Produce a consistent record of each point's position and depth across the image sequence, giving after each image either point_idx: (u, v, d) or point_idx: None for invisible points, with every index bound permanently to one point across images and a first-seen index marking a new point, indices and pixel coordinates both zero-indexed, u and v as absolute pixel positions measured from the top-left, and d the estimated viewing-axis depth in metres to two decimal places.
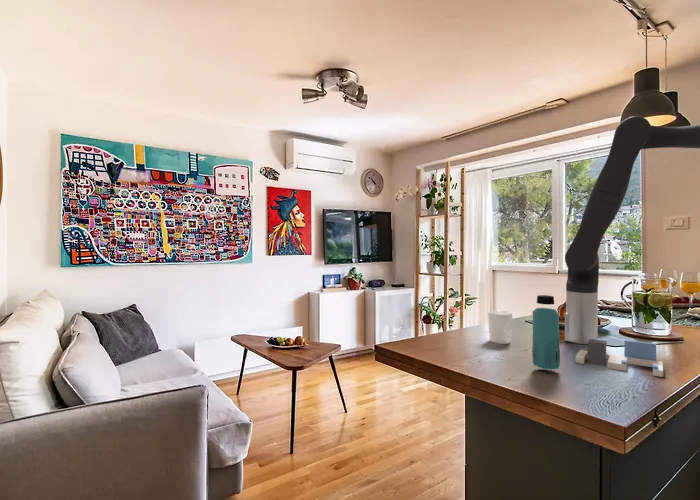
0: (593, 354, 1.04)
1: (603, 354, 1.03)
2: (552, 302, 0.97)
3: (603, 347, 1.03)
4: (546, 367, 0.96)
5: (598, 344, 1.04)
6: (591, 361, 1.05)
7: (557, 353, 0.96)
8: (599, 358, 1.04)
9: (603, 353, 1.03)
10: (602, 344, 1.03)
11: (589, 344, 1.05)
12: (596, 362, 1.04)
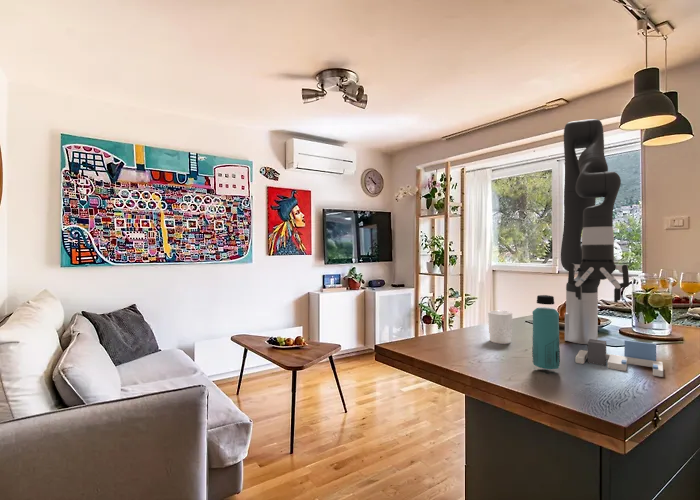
0: (593, 354, 1.04)
1: (603, 354, 1.03)
2: (552, 302, 0.97)
3: (603, 347, 1.03)
4: (546, 367, 0.96)
5: (598, 344, 1.04)
6: (591, 361, 1.05)
7: (557, 353, 0.96)
8: (599, 358, 1.04)
9: (603, 353, 1.03)
10: (602, 344, 1.03)
11: (589, 344, 1.05)
12: (596, 362, 1.04)
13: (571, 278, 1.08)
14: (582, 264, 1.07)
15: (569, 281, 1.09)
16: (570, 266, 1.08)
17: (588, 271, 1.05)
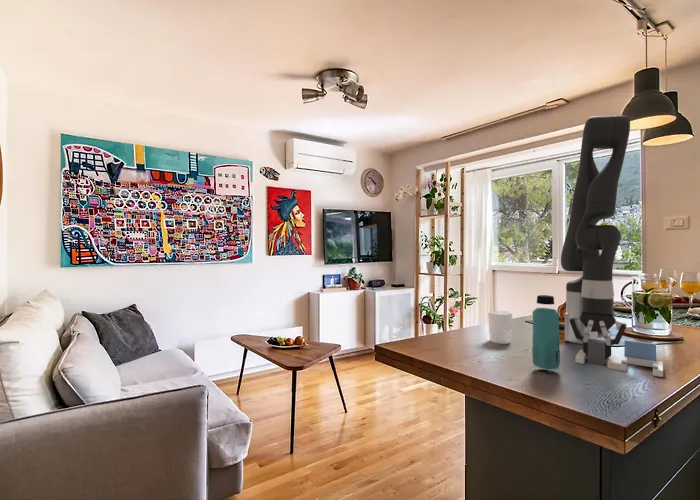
0: (593, 354, 1.05)
1: (603, 354, 1.03)
2: (552, 302, 0.97)
3: (603, 347, 1.03)
4: (546, 367, 0.96)
5: (598, 344, 1.04)
6: (591, 361, 1.05)
7: (557, 353, 0.96)
8: (599, 358, 1.04)
9: (603, 353, 1.03)
10: (602, 344, 1.03)
11: (589, 344, 1.05)
12: (596, 362, 1.04)
13: (577, 333, 1.07)
14: (581, 316, 1.07)
15: (577, 336, 1.07)
16: (571, 321, 1.08)
17: (589, 324, 1.05)
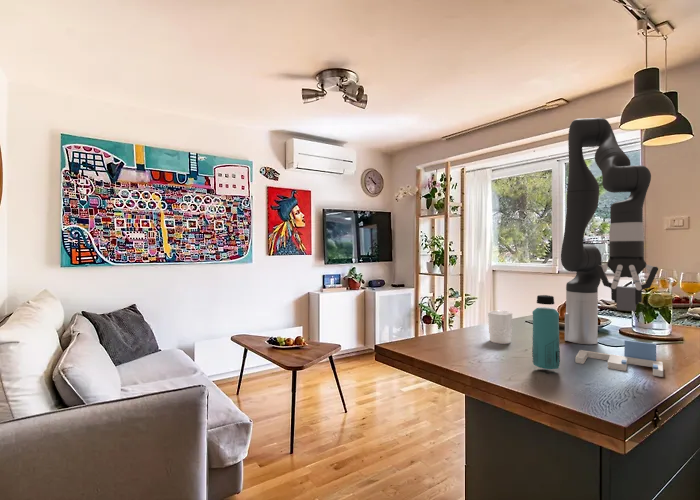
0: (622, 300, 1.00)
1: (633, 299, 0.98)
2: (552, 302, 0.97)
3: (633, 292, 0.98)
4: (546, 367, 0.96)
5: (628, 289, 0.99)
6: (620, 307, 1.00)
7: (557, 353, 0.96)
8: (629, 303, 0.99)
9: (633, 298, 0.98)
10: (632, 289, 0.99)
11: (618, 290, 1.01)
12: (626, 308, 1.00)
13: (605, 280, 1.03)
14: (609, 262, 1.03)
15: (604, 283, 1.03)
16: (598, 268, 1.04)
17: (618, 270, 1.01)
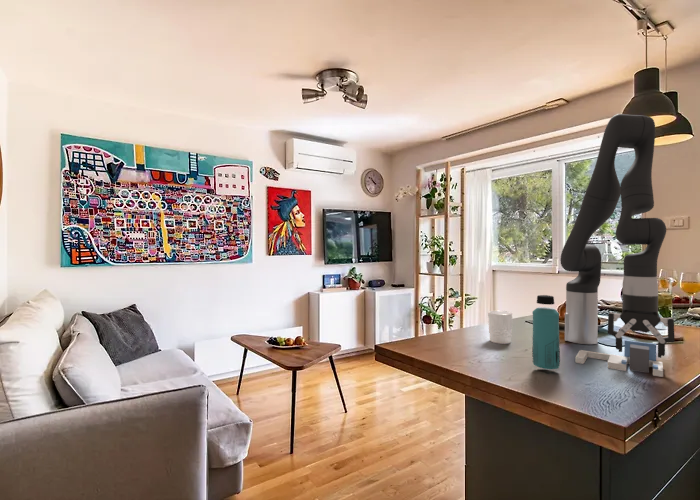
0: (635, 360, 0.98)
1: (647, 361, 0.97)
2: (552, 302, 0.97)
3: (647, 353, 0.97)
4: (546, 367, 0.96)
5: (641, 350, 0.98)
6: (633, 368, 0.99)
7: (557, 353, 0.96)
8: (643, 365, 0.98)
9: (647, 360, 0.97)
10: (646, 350, 0.97)
11: (631, 350, 0.99)
12: (639, 369, 0.98)
13: (611, 329, 1.02)
14: (623, 314, 1.01)
15: (609, 332, 1.03)
16: (609, 316, 1.03)
17: (630, 323, 0.99)
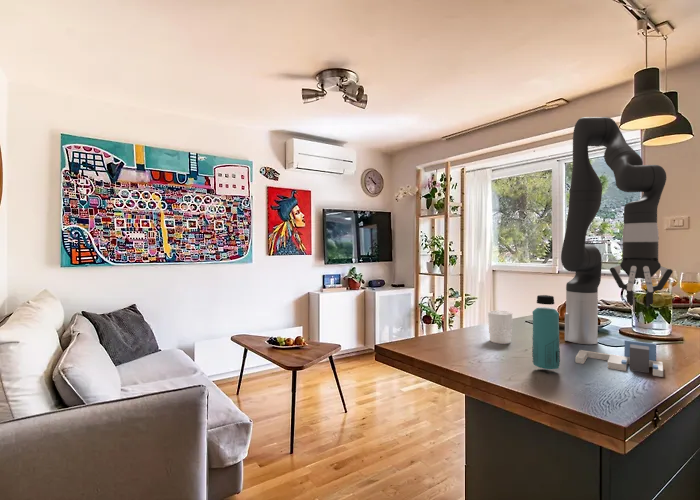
0: (635, 360, 0.98)
1: (647, 361, 0.97)
2: (552, 302, 0.97)
3: (647, 353, 0.97)
4: (546, 367, 0.96)
5: (641, 350, 0.98)
6: (633, 368, 0.99)
7: (557, 353, 0.96)
8: (643, 365, 0.98)
9: (647, 360, 0.97)
10: (646, 350, 0.97)
11: (631, 350, 0.99)
12: (639, 369, 0.98)
13: (620, 282, 1.01)
14: (622, 264, 1.01)
15: (620, 285, 1.01)
16: (611, 270, 1.02)
17: (632, 271, 0.99)
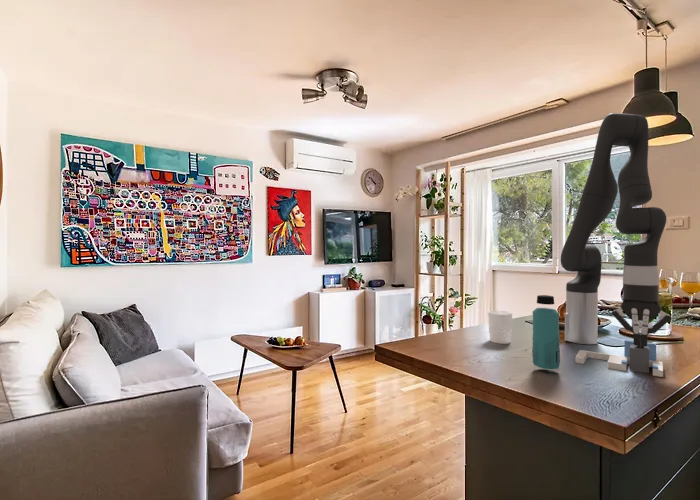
0: (635, 361, 0.98)
1: (647, 361, 0.97)
2: (552, 302, 0.97)
3: (647, 353, 0.97)
4: (546, 367, 0.96)
5: (641, 350, 0.98)
6: (633, 368, 0.99)
7: (557, 353, 0.96)
8: (643, 365, 0.98)
9: (647, 360, 0.97)
10: (646, 350, 0.97)
11: (631, 350, 0.99)
12: (639, 369, 0.98)
13: (625, 324, 1.00)
14: (622, 306, 1.01)
15: (627, 327, 1.00)
16: (614, 314, 1.02)
17: (633, 313, 0.99)
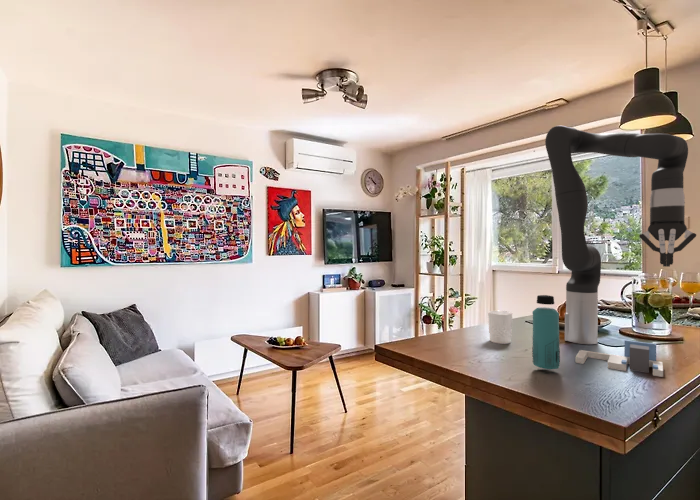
0: (635, 360, 0.99)
1: (647, 361, 0.97)
2: (552, 302, 0.97)
3: (647, 353, 0.97)
4: (546, 367, 0.96)
5: (641, 350, 0.98)
6: (633, 368, 0.99)
7: (557, 353, 0.96)
8: (643, 365, 0.98)
9: (647, 360, 0.97)
10: (646, 350, 0.97)
11: (631, 350, 0.99)
12: (639, 369, 0.98)
13: (652, 245, 1.08)
14: (649, 228, 1.08)
15: (653, 248, 1.07)
16: (641, 237, 1.09)
17: (660, 234, 1.06)
